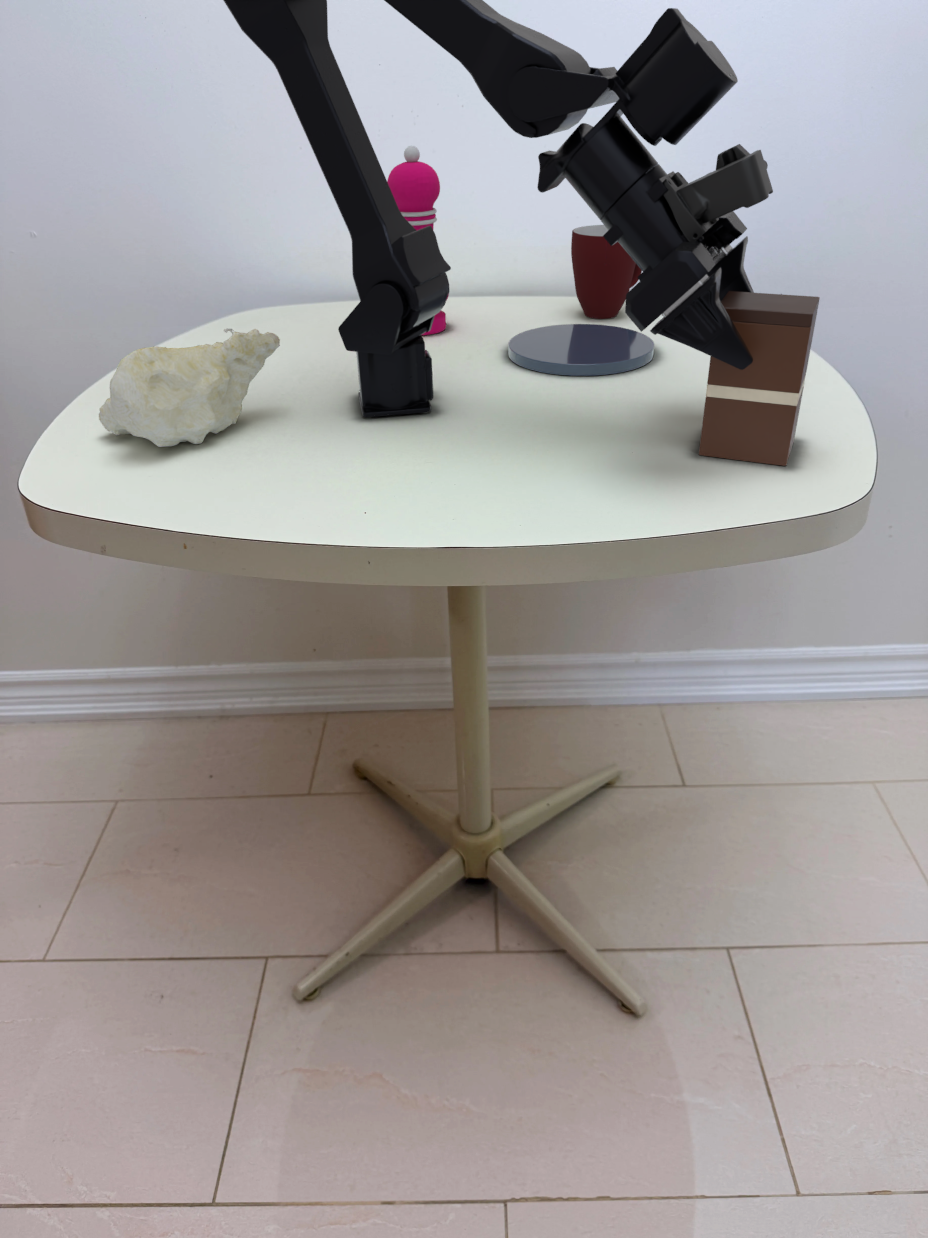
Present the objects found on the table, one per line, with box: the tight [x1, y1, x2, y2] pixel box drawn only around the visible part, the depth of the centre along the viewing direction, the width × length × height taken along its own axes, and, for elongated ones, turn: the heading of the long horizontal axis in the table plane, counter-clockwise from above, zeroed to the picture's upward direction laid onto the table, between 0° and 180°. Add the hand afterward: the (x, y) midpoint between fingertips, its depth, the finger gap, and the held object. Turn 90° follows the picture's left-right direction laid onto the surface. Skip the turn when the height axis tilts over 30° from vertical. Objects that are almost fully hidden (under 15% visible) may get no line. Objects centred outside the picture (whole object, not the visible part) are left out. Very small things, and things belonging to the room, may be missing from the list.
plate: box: [507, 323, 655, 377], centre depth 100 cm, size 16×16×1 cm
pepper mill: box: [387, 145, 450, 336], centre depth 105 cm, size 7×7×20 cm
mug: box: [570, 224, 643, 320], centre depth 111 cm, size 11×8×10 cm
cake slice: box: [698, 291, 821, 467], centre depth 72 cm, size 7×6×12 cm
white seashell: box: [98, 328, 281, 448], centre depth 80 cm, size 15×7×15 cm
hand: (756, 348), depth 71 cm, fingers open, 9 cm apart
